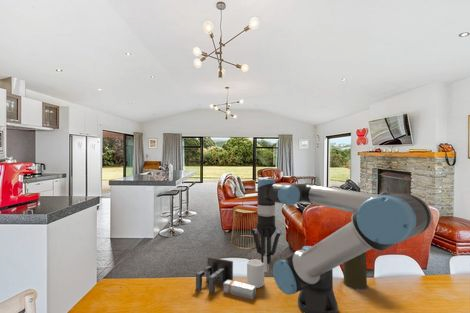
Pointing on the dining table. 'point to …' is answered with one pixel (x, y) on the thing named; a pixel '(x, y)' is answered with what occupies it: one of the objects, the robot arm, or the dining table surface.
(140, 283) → the dining table surface
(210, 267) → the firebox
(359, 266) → the canister
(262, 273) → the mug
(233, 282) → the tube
